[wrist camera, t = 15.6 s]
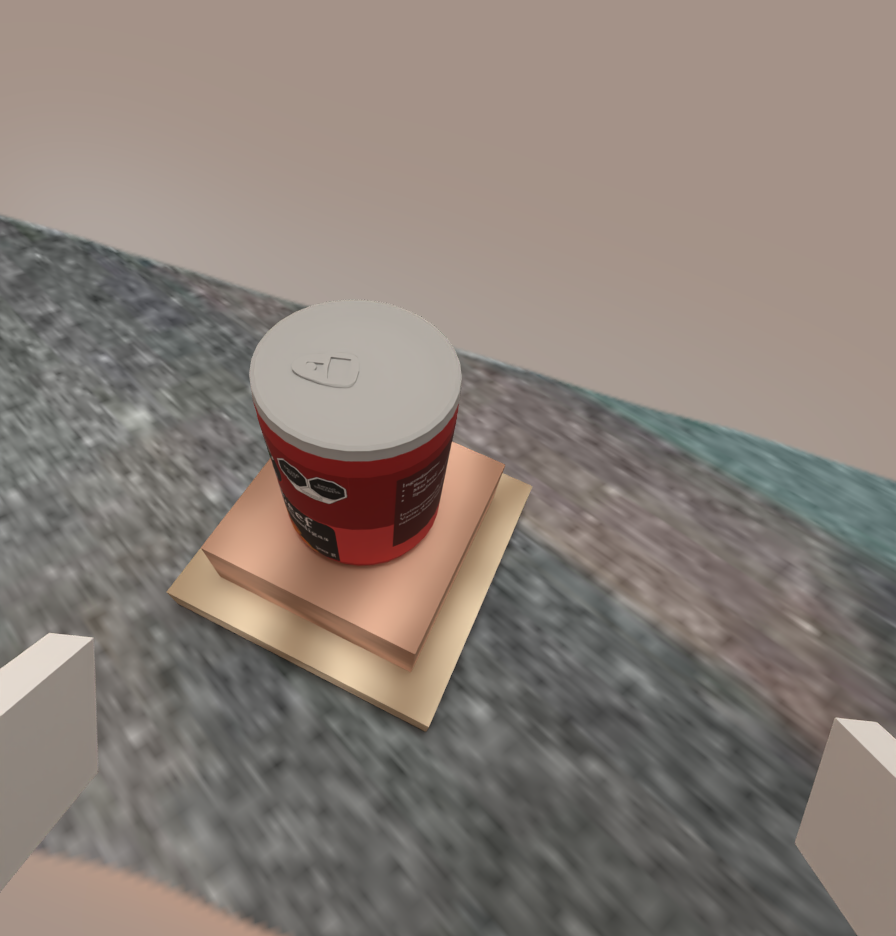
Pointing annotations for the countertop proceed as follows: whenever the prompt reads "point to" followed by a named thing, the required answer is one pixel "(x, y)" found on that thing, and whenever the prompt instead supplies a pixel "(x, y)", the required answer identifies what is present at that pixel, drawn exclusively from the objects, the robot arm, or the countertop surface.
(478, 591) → the stand
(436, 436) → the canned food
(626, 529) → the countertop surface
